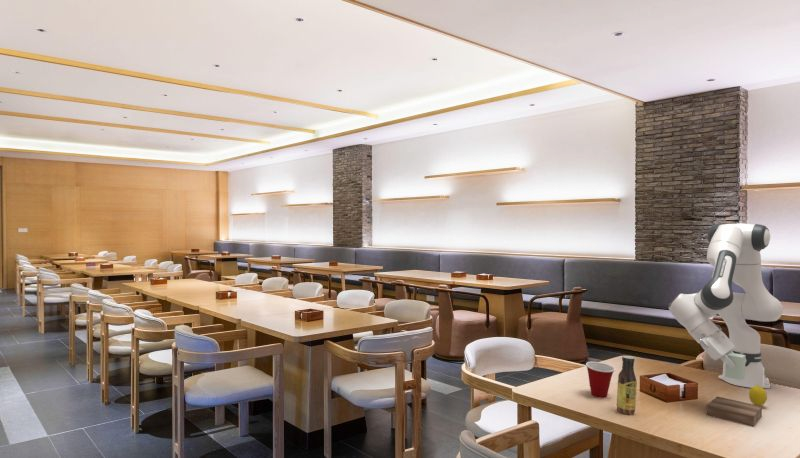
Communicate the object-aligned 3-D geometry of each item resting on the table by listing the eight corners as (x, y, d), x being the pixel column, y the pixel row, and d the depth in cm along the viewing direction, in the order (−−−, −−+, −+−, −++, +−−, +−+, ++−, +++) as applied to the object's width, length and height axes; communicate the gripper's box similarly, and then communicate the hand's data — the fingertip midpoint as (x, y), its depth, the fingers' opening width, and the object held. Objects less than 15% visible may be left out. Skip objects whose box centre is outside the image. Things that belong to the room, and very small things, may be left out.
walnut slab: (716, 406, 190) (717, 396, 190) (761, 417, 180) (761, 406, 180) (706, 416, 181) (706, 405, 180) (753, 428, 171) (753, 416, 171)
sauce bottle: (627, 416, 177) (629, 360, 177) (612, 410, 183) (614, 356, 183) (639, 413, 180) (641, 358, 180) (624, 407, 186) (626, 354, 186)
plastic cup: (604, 402, 191) (605, 371, 191) (579, 394, 200) (580, 364, 200) (619, 397, 198) (620, 366, 197) (595, 389, 206) (595, 360, 206)
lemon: (769, 409, 187) (770, 388, 187) (752, 408, 188) (753, 387, 188) (762, 404, 193) (762, 383, 192) (745, 403, 194) (746, 382, 194)
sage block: (728, 374, 184) (729, 352, 184) (744, 377, 180) (745, 355, 180) (725, 376, 180) (725, 354, 180) (741, 380, 177) (742, 357, 177)
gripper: (705, 331, 178) (736, 365, 171) (719, 324, 192) (749, 355, 186) (690, 342, 181) (721, 375, 174) (706, 334, 196) (734, 364, 189)
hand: (735, 364), depth 180 cm, fingers closed on sage block, 5 cm apart
